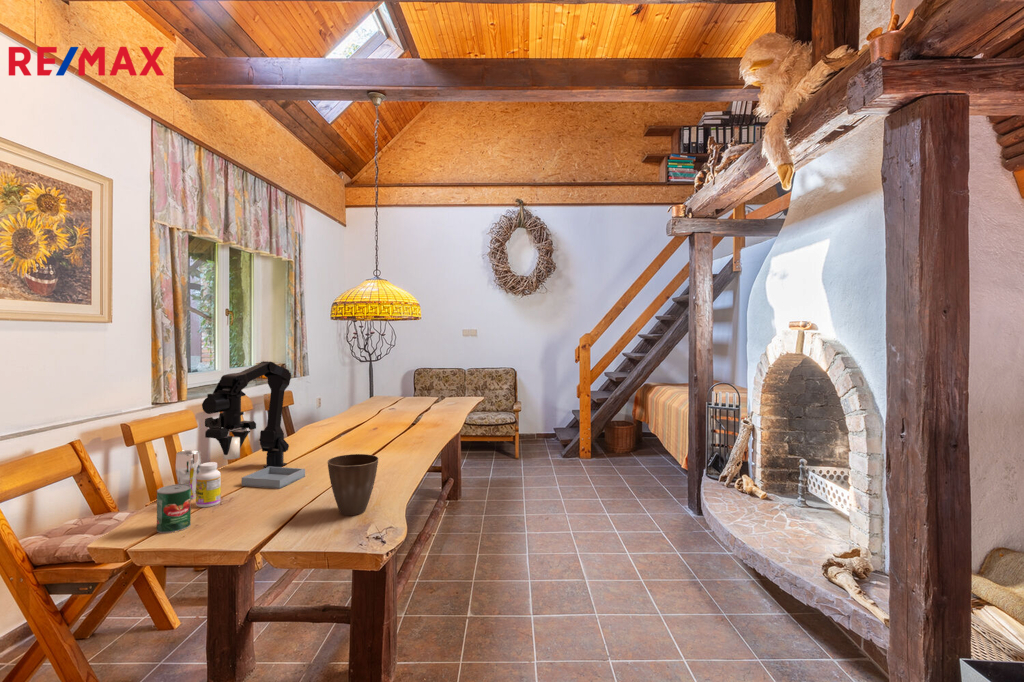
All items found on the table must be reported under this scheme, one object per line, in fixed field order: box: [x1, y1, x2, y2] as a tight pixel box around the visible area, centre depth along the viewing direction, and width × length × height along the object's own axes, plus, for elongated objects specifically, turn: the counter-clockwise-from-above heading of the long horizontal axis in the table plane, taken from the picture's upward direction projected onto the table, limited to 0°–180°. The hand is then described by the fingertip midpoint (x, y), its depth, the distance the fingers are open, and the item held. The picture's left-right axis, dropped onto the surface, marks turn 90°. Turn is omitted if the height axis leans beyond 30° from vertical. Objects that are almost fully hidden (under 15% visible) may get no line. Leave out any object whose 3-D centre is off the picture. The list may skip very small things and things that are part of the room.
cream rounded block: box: [222, 436, 241, 460], centre depth 178 cm, size 5×5×7 cm
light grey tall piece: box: [175, 449, 202, 500], centre depth 162 cm, size 7×7×15 cm
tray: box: [241, 466, 306, 490], centre depth 181 cm, size 15×15×3 cm
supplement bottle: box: [195, 461, 222, 508], centre depth 156 cm, size 7×7×13 cm
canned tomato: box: [156, 483, 192, 534], centre depth 138 cm, size 8×8×11 cm
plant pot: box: [327, 453, 379, 516], centre depth 152 cm, size 15×15×16 cm
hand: (231, 452), depth 178 cm, fingers closed on cream rounded block, 5 cm apart
